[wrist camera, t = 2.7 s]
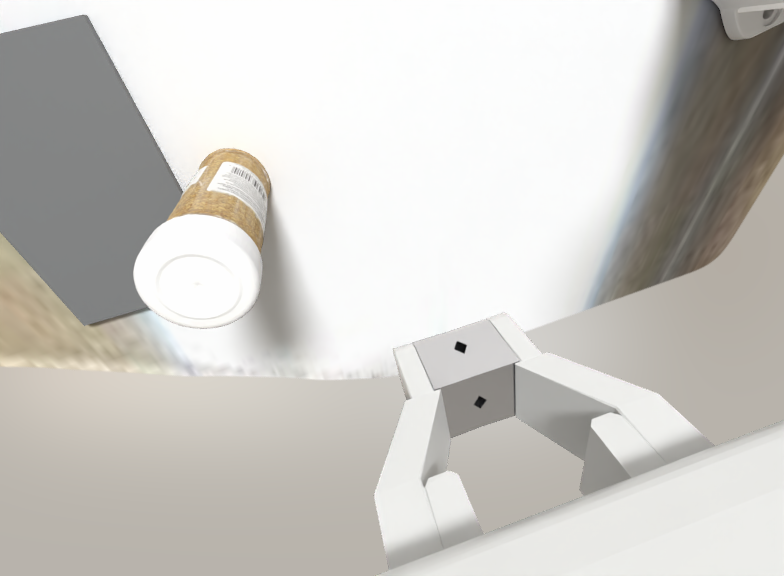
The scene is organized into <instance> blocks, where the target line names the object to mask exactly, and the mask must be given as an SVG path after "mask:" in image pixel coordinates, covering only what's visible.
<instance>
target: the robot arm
mask: <svg viewBox="0 0 784 576" xmlns="http://www.w3.org/2000/svg"><path fill="white" fill-rule="evenodd" d="M712 1H713V2H714V3H715V4H716V5H717V6H718V8H719V9H720V12H721V17H722V21H723V25H724V28H725V31H726V33H727V35H728V37H729V38H730V39H731V40H741V39H749V38H752V37H754V36H756V35H758V34H760V33H763V32H765V31H767V30H769V29H771V28H773V27H775V26H777V25H779V24H781V23H783V22H784V0H712ZM393 354H394V357H395V361H396V365H397V369H398V372H399V376H400V380H401V383H402V386H403V390H404V393H405V396H406V401H405V402H404V405H403V408H402V411H401V414H400V418H399V420H398V424H397V427H396V430H395V433H394V436H393V439H392V442H391V445H390V448H389V451H388V454H387V457H386V460H385V463H384V466H383V470H382V472H381V475H380V479H379V482H378V485H377V488H376V491H375V494H374V498H375V503H376V508H377V513H378V518H379V523H380V527H381V533H382V537H383V543H384V548H385V553H386V558H387V563H388V568H389V570H388V571H386V572H383V573H380V574H378V575H375V576H784V420H782V421H780V422H777V423H774V424H772V425H769V426H767V427H764V428H761V429H759V430H756V431H753V432H751V433H748V434H746V435H743V436H740V437H738V438H735V439H732V440H730V441H727V442H725V443H722V444H719V445H717V446H715V445H714V444H712V443H711V442H710V441H709V440H708V439H707V438H706V437H705V436H704V435H703V434H702V433H700V432H699V431H698V430H697V429H696V428H695V427H694V426H693V425H692V424H691V423H689V422H688V421H687V420H686V419H685V418H684V417H683V416H682V415H681V414H680V413H679V412H678V411H676V410H675V409H674V408H673V407H672V406H671V405H670V404H669V403H668V402H667V401H666V400H664V399H663V398H662V397H661V396H660V395H659V394H658V393H655V392H652V391H650V390H647V389H644V388H642V387H639V386H636V385H634V384H631V383H629V382H626V381H623V380H620V379H618V378H615V377H613V376H610V375H607V374H605V373H602V372H599V371H597V370H594V369H592V368H589V367H586V366H583V365H581V364H578V363H576V362H573V361H570V360H568V359H565V358H562V357H560V356H557V355H554V354H552V353H549V352H548V353H544V354H542V353H541V351H540V350H539V349H538V348H537V347H536V346H535V344H533V342H532V341H531V340H530V339H529V338H528V336H527V335H526V334H525V333H524V332H523V331H522V329H521V328H520V327H519V326H518V325H517V324H516V323H515V321H514V320H513V319H512V318H511V317H510V316H509V314H507V313H505V312H504V313H501V314H498V315H495V316H492V317H489V318H487V319H486V320H485V319H484V320H481V321H478V322H475V323H472V324H469V325H466V326H463V327H460V328H457V329H454V330H451V331H449V332H446V333H442V334H439V335H436V336H432V337H429V338H425V339H422V340H419V341H415V342H412V343H411V344H407V345H404V346H400V347H397V348H393ZM515 415H516V418H518V419H519V420H521V421H522V422H524V423H526V424H527V425H529V426H530V427H532V428H533V429H535V430H537V431H538V432H540V433H541V434H543V435H544V436H546V437H548V438H549V439H551V440H552V441H554V442H555V443H557V444H558V445H560V446H562V447H563V448H565V449H566V450H568V451H570V452H571V453H572V454H574V455H576V456H577V457H579V458H580V459H582V460H584V466H583V472H582V478H581V483H580V491H581V493H582V494H583V497H580V498H577V499H575V500H572V501H570V502H567V503H564V504H562V505H559V506H556V507H554V508H551V509H549V510H546V511H543V512H541V513H538V514H535V515H533V516H530V517H527V518H525V519H522V520H520V521H517V522H514V523H512V524H509V525H506V526H504V527H501V528H498V529H496V530H493V531H491V532H488V533H485V534H483V532H482V529H481V527H480V525H479V522H478V520H477V518H476V515H475V513H474V510H473V508H472V506H471V503H470V501H469V499H468V496H467V494H466V492H465V489H464V487H463V485H462V482H461V480H460V478H459V475H458V474H456V473H453V472H451V471H446V469H447V463H448V457H449V449H450V443H451V439H450V438H453V437H455V436H458V435H461V434H463V433H466V432H468V431H471V430H473V429H476V428H479V427H481V426H484V425H487V424H491V423H494V422H497V421H500V420H503V419H506V418H509V417H512V416H515Z"/></svg>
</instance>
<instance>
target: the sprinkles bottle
mask: <svg viewBox="0 0 784 576" xmlns="http://www.w3.org/2000/svg"><path fill="white" fill-rule="evenodd" d="M269 193H270V180H269V176H268V174H267V172H266V170H265V168H264V167H263V165H262V164H261V163H260V162H259V161H258V160H257V159H256V158H255V157H253V156H252V155H250V154H249V153H247V152H244V151H241V150H237V149H219V150H217V151H215V152H213V153H211V154H209V155H208V157H206V158H205V159H204V161H203V162H202V163H201V165H200V167H199V171H198V172H197V173H196V174H195V175H194V177H193V178H192V180H191V181H190V183H189V184H188V186H187V187H186V189H185V190H184V192H183V194H182V196H181V199H180V201H179V202H178V204H177V206H176V207H175V209H174V210H173V212H172V213H171V214H170V216H169V217H168V219H167V221H166V222H165V223H163V224H161V225H160V226H159V227H157V228H156V229H155V230H154V232H153V233H152V234H151V235H150V237H149V238H148V240H147V241H146V243H145V244H144V246H143V248H142V249H141V251H140V253H139V254H138V256H137V259H136V262H135V265H134V271H133V277H134V283H135V286H136V289H137V292H138V294H139V295H140V297H141V299H142V300H143V302H144V303H145V304H146V305H147V306H148V307H149V308H150V309H151V310H152V311H154V312H155V313H156V314H158V315H159V316H161V317H162V318H164V319H166V320H168V321H170V322H172V323H175V324H178V325H181V326H185V327H190V328H200V329H207V328H217V327H221V326H225V325H228V324H230V323H233V322H235V321H237V320H238V319H240V318H242V317H243V316H244V315H245V314H246V313H248V312H249V311H250V309H251V308H252V307H253V306H254V304H255V302H256V300H257V298H258V295H259V291H260V286H261V280H262V269H263V266H262V259H261V255H260V254H261V248H262V244H263V240H264V232H265V224H266V215H267V203H268V202H267V199H268V195H269Z"/></svg>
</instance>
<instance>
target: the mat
mask: <svg viewBox="0 0 784 576" xmlns="http://www.w3.org/2000/svg"><path fill="white" fill-rule="evenodd" d="M182 194H183V191H182V189H181V187H180V186H179V184H178V182H177V180H176V178H175V176H174V175H173V173H172V171H171V169H170V167H169V165H168V163H167V162H166V160H165V158H164V156H163V154H162V152H161V151H160V149H159V147H158V145H157V143H156V141H155V140H154V138H153V136H152V134H151V132H150V130H149V129H148V127H147V125H146V123H145V121H144V119H143V117H142V116H141V114H140V112H139V110H138V108H137V106H136V105H135V103H134V101H133V99H132V97H131V95H130V94H129V92H128V90H127V88H126V86H125V84H124V82H123V81H122V79H121V77H120V75H119V73H118V71H117V70H116V68H115V66H114V64H113V62H112V60H111V59H110V57H109V55H108V53H107V51H106V49H105V48H104V46H103V44H102V42H101V40H100V38H99V36H98V35H97V33H96V31H95V29H94V27H93V25H92V24H91V22H90V20H89V18H88V16H87V15H80V16H76V17H71V18H67V19H63V20H58V21H54V22H49V23H45V24H41V25H36V26H32V27H27V28H23V29H19V30H14V31H10V32H5V33H1V34H0V232H1V234H2V235H3V236H4V237H5V238H6V239H7V240H8V241H9V242H10V244H11V245H12V246H13V247H14V248H15V249H16V250H17V251H18V252H19V254H20V255H21V256H22V257H23V258H24V259H25V260H26V261H27V263H28V264H29V265H30V266H31V267H32V268H33V269H34V270H35V271H36V273H37V274H38V275H39V276H40V277H41V278H42V279H43V280H44V281H45V283H46V284H47V285H48V286H49V287H50V288H51V289H52V290H53V292H54V293H55V294H56V295H57V296H58V297H59V298H60V299H61V300H62V302H63V303H64V304H65V305H66V306H67V307H68V308H69V309H70V310H71V312H72V313H73V314H74V315H75V316H76V317H77V318H78V319H79V320H80V322H81V323H82V324H83V325H84V326H85V325H88V324H92V323H95V322H99V321H102V320H106V319H109V318H113V317H116V316H120V315H123V314H126V313H130V312H133V311H137V310H140V309H144V308H147V307H148V306H147V305H146V304H145V303H144V302H143V300H142V299H141V297H140V295H139V294H138V292H137V289H136V286H135V283H134V277H133V271H134V265H135V262H136V259H137V256H138V254H139V253H140V251H141V249H142V248H143V246H144V244H145V243H146V241H147V240H148V238H149V237H150V235H151V234H152V233H153V232H154V230H155V229H156V228H157V227H159V226H160V225H161V224H163V223H165V222H166V221H167V219H168V217H169V216H170V214H171V213H172V212H173V210H174V209H175V207H176V206H177V204H178V202H179V201H180V199H181V196H182Z"/></svg>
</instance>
